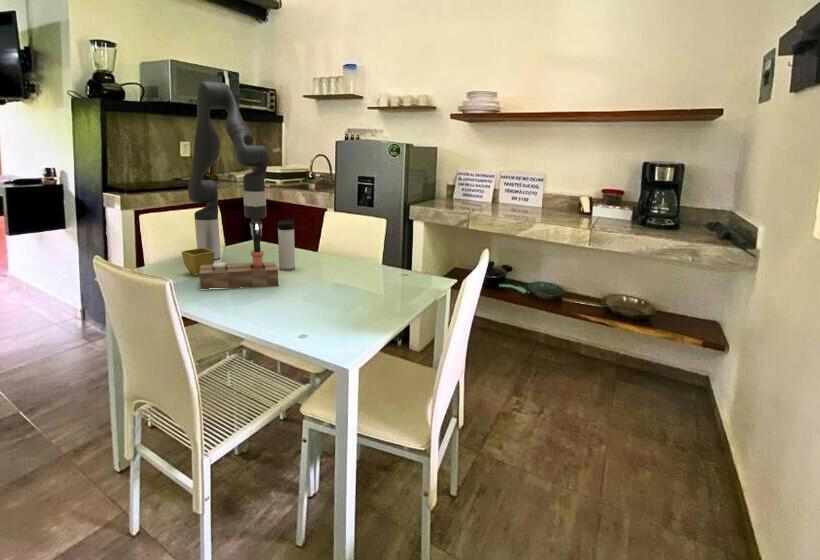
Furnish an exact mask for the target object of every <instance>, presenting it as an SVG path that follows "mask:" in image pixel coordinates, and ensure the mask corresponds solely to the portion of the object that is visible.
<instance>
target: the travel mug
mask: <svg viewBox="0 0 820 560" xmlns="http://www.w3.org/2000/svg"><path fill="white" fill-rule="evenodd" d="M294 224H295V223H294V220H291V219H290V218H289V219H288V218H287V219H286V218H285V219H283V220H279V221H278V222H277V238H278V265H279V266H278V270H280V271H283V272H284V271H288V272H291V271H294V270H295V269H296V259H295V258H296V257H295V254H296V252H295V225H294Z"/></svg>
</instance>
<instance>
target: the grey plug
mask: <svg viewBox="0 0 820 560" xmlns="http://www.w3.org/2000/svg"><path fill="white" fill-rule="evenodd" d="M226 264H227V262H224V261H218V262H214V263H213V268H215V270H225V267H226Z"/></svg>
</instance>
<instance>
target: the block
mask: <svg viewBox="0 0 820 560" xmlns="http://www.w3.org/2000/svg"><path fill="white" fill-rule="evenodd" d="M199 274H200V276H199V283H200V284H199V285H200V290H201V289H209V288H233V289H241V288H240V287H250V288H262V287H277V286H279V268H278V267H277V265H276V262H275V261H264V262H263V268H254V269H253V262H244V263H242V262H240V263H239V262H238V263H237V262H236V263H226V267H225V270H215V268H213V265H201V266H200V273H199Z"/></svg>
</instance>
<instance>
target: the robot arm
mask: <svg viewBox="0 0 820 560" xmlns="http://www.w3.org/2000/svg"><path fill="white" fill-rule="evenodd" d="M233 93H234V92H233V91H232V89H231V87H230V86H229V84H227V83H225V82H220V81H201V82H200V83H199V85H198V87H197V93H196V98H197V99H196V125H195V127H196V128H195V133H194V143H193V153H192V154H193V155H192V166H191V172H190V177H189V181H188V186H187V187H188V188H187V189H188V190H187V194H188V199H189V200H190V201H191V202H192V203H194V204H201V203H203V204H206V205H205V206H204V207H202V208H201V209H198V210H196V211H195V212H194V215H193V216H194V225H195V227H194V228H195V238H196V241H195V242H196V249H198V248H205V249H208V250H212V251H215V253H214V259H217V260H219V259H218V258H220V257H222V256H221V255H222V254H221V240H220V239H221V238H220V237H221V236H220V225H219V189H218V185H217V183H216V181H215V180H212V179H211V180H210V179H203V178H204V175H205V174H206V172H207V171H208V170H209V169H210V168H211V167H212V166H213V165H214V164H215V163H216V161H217V160H218V158H219V155H220V148H221V138H220V136H219V134H218V131H217V130H216V129H215V127H214V125H213V123H212V121H211V117H210V112H211V109H212V110H225V111H226V112H227V116H226V117H227V118H226V121H225V130H226V133H227V135H228V137H229V138H230V140H231V142H232V144H233V146H234V150H235V155H236V161H237V162H238V163H239V165H242V166H243V167H254V169H253V171H251V172H247V173H246V174H244V175H243V179H242V181H243V211H244V212H243V213H244V214H243V215H244V217H245V218H246V219H251V221H249V227H250V234H251V236H252V242H253V251H254V252H260V250H261V242H262V235H263V233H262V232H263V231H262V229H263V223H262V221H260V219H264V218H266V217H267V216H268V215H267V198H266V197H267V196H266V195H267V194H266V191H265V189H266V185H265V183H266V182H265V180H266V173H267V169H268V165H269V161H270V160H269V159H270V155H269V151H268V149H267V148H266V147H265V146H264V145H254V136H253V135H252V133H251V131H250V129H249V128H248V126H247V125H246V123H245V122H244V119H243V117H242V115H241V114H242V113H241V111H240V109H239V107H238V104H237V101H236V98H235V96H234V94H233ZM220 259H221V258H220Z"/></svg>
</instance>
